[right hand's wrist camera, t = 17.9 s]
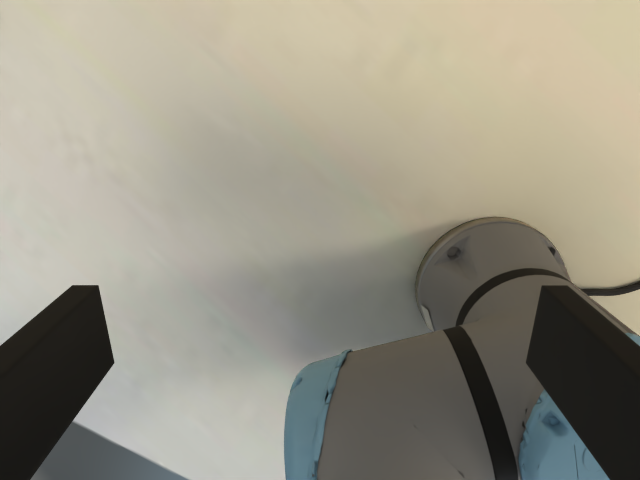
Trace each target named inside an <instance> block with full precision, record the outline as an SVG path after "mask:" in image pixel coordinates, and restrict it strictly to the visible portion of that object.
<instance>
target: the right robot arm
mask: <svg viewBox="0 0 640 480" xmlns="http://www.w3.org/2000/svg"><path fill="white" fill-rule="evenodd" d="M638 289H640V282H638V283H635V284H632V285H629V286H625V287H621V288H616V289H581V290H580V289H579V288H578V287H577V286H575V285H574V284H573V283H572V282H571V279H570V277H569V275H568V272H567V270H566V267H565V265H564V262H563V260H562V258H561V256H560V254H559V252H558V251H557V249H556V248H555V246H554V245H553V244H552V243H551V242H550V241H549V240H548V238H546V237H545V236H544V235H543V234H541V233H540V232H538V231H537V230H536V229H534V228H532V227H531V226H529V225H527V224H525V223H523V222H520V221H518V220H514V219H509V218H501V217H490V218H482V219H477V220H473V221H470V222H467V223H465V224H462V225H460V226H458V227H456V228H454V229H452V230H451V231H449V232H448V233H446V234H445V235H444V236H443V237H441V238H440V239H439V240H438V241H437V242H436V243H435V244H434V245H433V246H432V247H431V248H430V250H429V251H428V253H427V254H426V256H425V257H424V259H423V261H422V263H421V265H420V267H419V270H418V273H417V277H416V284H415V293H416V300H417V304H418V307H419V310H420V312H421V314H422V317H423V319H424V321H425V323H426V324H427V327H428V328H429V329H430V330H431V331H432V332H431V333H427V334H423V335H419V336H415V337H411V338H407V339H402V340H398V341H394V342H390V343H386V344H382V345H377V346H373V347H369V348H365V349H361V350H356V351H352V350H351V349H350V350H345V351H344V352H342V354H340V355H337V356H334V357H331V358H327V359H324V360H321V361H317V362H314V363H311V364H309V365H307V366H306V367H304V368H303V369H302V370H301V371H300V372H299V373H298V375H297V376H296V378H295V380H294V382H293V384H292V387H291V391H290V394H289V397H288V402H287V408H286V416H285V430H284V459H285V474H286V480H640V336H638V335H637V334H636V333H635V332H633V331H632V330H631V329H630V328H628V327H627V326H626V325H624V324H623V323H622V322H621V321H619V320H618V319H617V318H616V317H614V316H613V315H612V314H611V313H609V312H608V311H607V310H605V309H604V308H603V307H602V306H600V305H599V304H598V303H597V302H595V301H594V300H593V299H591V298H590V297H589V296H614V295H621V294H625V293H629V292H632V291H636V290H638ZM113 364H114V359H113V354H112V349H111V344H110V339H109V334H108V330H107V325H106V320H105V315H104V310H103V305H102V301H101V296H100V291H99V286H98V285H72V286H71V287H70V288H69V289H68V290H66V291H65V292H64V293H63V294H62V295H60V296H59V297H58V298H57V299H56V300H54V301H53V302H52V303H51V304H50V305H48V306H47V307H46V308H45V309H44V310H43V311H41V312H40V313H39V314H38V315H37V316H35V317H34V318H33V319H32V320H31V321H29V322H28V323H27V324H26V325H25V326H23V327H22V328H21V329H20V330H19V331H18V332H16V333H15V334H14V335H13V336H12V337H10V338H9V339H8V340H7V341H6V342H4V343H3V344H2V345H1V346H0V480H30V479H31V478H32V476H33V475H34V474H35V472H36V471H37V469H38V468H39V467H40V465H41V464H42V462H43V461H44V460H45V458H46V457H47V456H48V454H49V453H50V451H51V450H52V449H53V447H54V446H55V444H56V443H57V442H58V440H59V439H60V438H61V436H62V435H63V433H64V432H65V431H66V429H67V428H68V426H69V425H70V424H71V422H72V421H73V419H74V418H75V417H76V415H77V414H78V413H79V411H80V410H81V408H82V407H83V406H84V404H85V403H86V401H87V400H88V399H89V397H90V396H91V395H92V393H93V392H94V390H95V389H96V388H97V386H98V385H99V383H100V382H101V381H102V379H103V378H104V376H105V375H106V374H107V372H108V371H109V370H110V368H111V367H112V365H113Z"/></svg>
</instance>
